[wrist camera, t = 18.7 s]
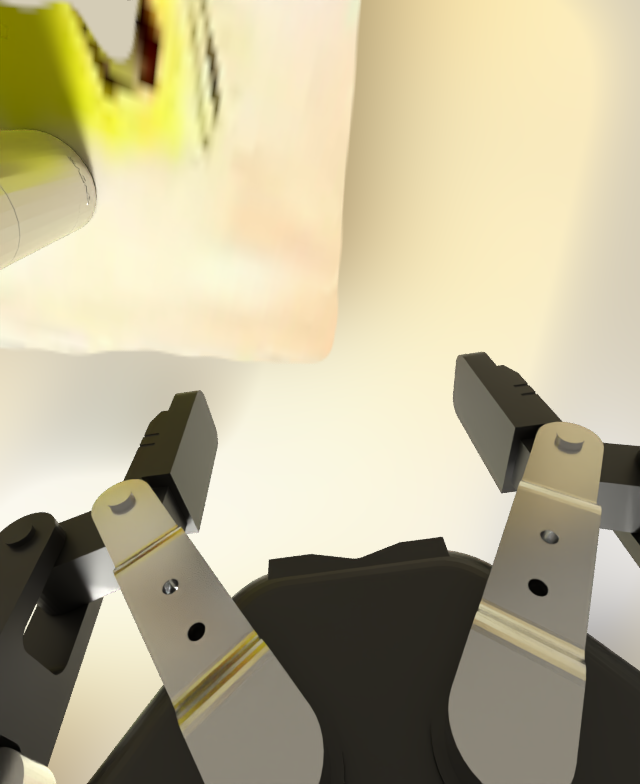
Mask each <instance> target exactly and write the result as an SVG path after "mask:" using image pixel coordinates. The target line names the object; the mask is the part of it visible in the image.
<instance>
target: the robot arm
mask: <svg viewBox="0 0 640 784" xmlns="http://www.w3.org/2000/svg"><path fill="white" fill-rule="evenodd" d="M95 206H96V191H95V186H94V183H93V179H92V177H91V175H90V173H89V171H88V169H87V167H86V165H85V164H84V163H83V161H82V160H81V158H80V157H79V156H78V155H77V154H76V153H75V152H74V151H73V150H72V149H71V148H70V147H69V146H68V145H66V144H65V143H64V142H62V141H61V140H60V139H58V138H56V137H54V136H52V135H50V134H48V133H45V132H41V131H38V130H28V129H22V130H0V270H1V269H3V268H5V267H7V266H9V265H11V264H12V263H14V262H16V261H18V260H20V259H22V258H24V257H26V256H28V255H30V254H32V253H34V252H36V251H38V250H40V249H41V248H43V247H45V246H47V245H49V244H51V243H53V242H55V241H57V240H59V239H61V238H63V237H65V236H67V235H69V234H71V233H73V232H75V231H77V230H79V229H80V228H82V227H83V226H84V225H86V224H87V223H88V222H89V220H90V219H91V218H92V216H93V213H94V210H95ZM453 402H454V408H455V412H456V414H457V416H458V418H459V420H460V422H461V423H462V425H463V427H464V428H465V430H466V432H467V434H468V435H469V437H470V439H471V441H472V443H473V444H474V446H475V448H476V450H477V451H478V453H479V455H480V457H481V458H482V460H483V462H484V464H485V465H486V467H487V469H488V471H489V472H490V474H491V476H492V478H493V479H494V481H495V483H496V485H497V486H498V488H499V490H500V492H501V493H507V492H515V491H517V492H516V495H515V498H514V501H513V504H512V507H511V511H510V513H509V517H508V520H507V523H506V526H505V529H504V532H503V535H502V538H501V541H500V544H499V547H498V550H497V554H496V557H495V560H494V563H493V566H492V565H491V564H489V563H487V562H485V561H483V560H480V559H478V558H476V557H473V556H470V555H467V554H463V553H459V552H455V551H448V550H447V548H446V545H445V542H444V539H443V537H438V538H430V539H423V540H415V541H407V542H400V543H397V544H395V545H392V546H389V547H387V548H384V549H382V550H379V551H377V552H374V553H372V554H369V555H367V556H364V557H361V558H357V559H351V558H342V557H333V556H324V555H314V554H308V555H301V556H293V557H286V558H278V559H271V560H269V568H268V574H267V575H264V576H262V577H261V578H258V579H256V580H255V581H253V582H251V583H250V584H248V585H247V586H245V587H244V588H242V589H241V590H240V591H239V592H238V593H236V594H235V595H234V596H233V597H232V598H231V597H230V595H229V594H228V593H227V591H226V590H225V588H224V587H223V585H222V584H221V583H220V581H219V580H218V578H217V577H216V576H215V574H214V573H213V571H212V570H211V568H210V567H209V566H208V564H207V563H206V561H205V560H204V558H203V557H202V556H201V554H200V553H199V551H198V550H197V549H196V547H195V546H194V544H193V543H192V541H191V540H190V539H189V537H188V536H187V534H190V533H198V532H199V529H200V524H201V520H202V515H203V511H204V506H205V501H206V497H207V492H208V487H209V483H210V478H211V474H212V469H213V465H214V460H215V455H216V451H217V445H218V438H217V431H216V427H215V425H214V422H213V419H212V416H211V413H210V411H209V408H208V405H207V402H206V399H205V397H204V394H203V393H202V392H201V391H200V390H199V391H192V392H184V393H178V394H175V396H174V399H173V401H172V403H171V406H170V408H169V410H168V411H162V412H161V413H159V414H158V415H157V416H156V417H155V418H154V419H153V420H152V421H151V422H150V424H149V426H148V428H147V430H146V433H145V437H143V439H142V441H141V444H140V447H139V448H138V450H137V452H136V455H135V457H134V459H133V461H132V463H131V466H130V468H129V470H128V472H127V474H126V476H125V479H124V481H122V482H120V483H117V484H116V485H113V486H112V487H110V488H108V489H107V490H106V491H105V492H103V493H102V494H101V495H100V496H99V497H98V499H97V500H96V501H95V503H94V505H93V507H92V511H89V512H87V513H84V514H82V515H79V516H77V517H74V518H71V519H69V520H66V521H63V522H61V523H58V522H57V521H56V519H55V518H54V517H53V516H52V515H51V514H49V513H45V512H39V513H34V514H30V515H27V516H24V517H22V518H20V519H18V520H16V521H15V522H13V523H12V524H10V525H9V526H8V527H6V528H5V529H3V530H2V531H1V532H0V784H56V780H55V777H54V775H53V773H52V771H51V770H50V769H48V768H47V767H48V764H49V761H50V757H51V755H52V751H53V748H54V745H55V742H56V739H57V736H58V733H59V730H60V727H61V724H62V721H63V718H64V715H65V712H66V709H67V706H68V703H69V700H70V697H71V694H72V691H73V688H74V685H75V681H76V679H77V676H78V673H79V670H80V666H81V664H82V661H83V658H84V655H85V652H86V649H87V645H88V643H89V639H90V636H91V633H92V630H93V627H94V624H95V621H96V618H97V615H98V612H99V609H100V606H101V603H102V600H103V597H104V596H105V595H108V594H110V593H112V592H114V591H117V590H119V589H121V591H122V594H123V595H124V598H125V600H126V602H127V605H128V607H129V609H130V611H131V613H132V615H133V618H134V620H135V622H136V624H137V626H138V629H139V631H140V633H141V635H142V638H143V640H144V642H145V644H146V646H147V649H148V651H149V653H150V655H151V657H152V660H153V662H154V664H155V666H156V668H157V670H158V673H159V675H160V677H161V679H162V681H163V684H164V685H163V686H162V687H161V689H160V690H159V691H158V692H157V694H156V695H155V696H154V698H153V699H152V700H151V702H150V703H149V704H148V706H147V707H146V708H145V709H144V711H143V712H142V713H141V714H140V716H139V717H138V718H137V720H136V721H135V722H134V724H133V725H132V726H131V727H130V729H129V730H128V732H127V733H126V734H125V735H124V737H123V738H122V739H121V740H120V742H119V743H118V744H117V746H116V747H115V748H114V750H113V751H112V752H111V753H110V755H109V756H108V758H107V759H106V760H105V761H104V763H103V764H102V765H101V766H100V768H99V769H98V770H97V772H96V773H95V774H94V776H93V777H92V778H91V779H90V781H89V782H88V783H87V784H640V671H639V670H638V669H636V668H635V667H633V666H632V665H631V664H629V663H628V662H627V661H625V660H624V659H622V658H621V657H620V656H618V655H617V654H615V653H614V652H613V651H611V650H610V649H609V648H607V647H606V646H604V645H603V644H602V643H600V642H599V641H597V640H596V639H594V638H593V637H592V636H591V635H589V634H588V633H587V627H588V619H589V611H590V602H591V594H592V586H593V578H594V569H595V561H596V552H597V545H598V536H599V528H602V529H609V530H613V531H614V533H615V534H616V535H617V537H618V538H619V540H620V541H621V542H622V544H623V545H624V547H625V548H626V549H627V551H628V552H629V554H630V555H631V556H632V558H633V559H634V561H635V562H636V563H637V565H638V566H639V568H640V446H631V445H621V444H620V445H619V444H609V443H603V442H602V441H601V439H600V438H599V437H598V436H597V435H596V434H595V433H593V432H592V431H590V430H589V429H587V428H585V427H582V426H580V425H577V424H573V423H568V422H562V421H561V420H560V418H558V417H557V415H556V414H555V413H554V412H553V411H552V410H551V409H550V407H549V406H548V405H547V404H546V403H545V402H544V401H543V400H542V399H541V398H540V397H539V395H538V394H535V391H534V390H533V389H532V388H531V387H530V386H528V385H527V382H526V381H525V380H524V379H523V378H522V377H521V376H520V375H519V373H517V372H515V371H513V370H512V369H509V368H508V367H506V366H504V365H501V366H496V364H495V363H494V362H493V361H492V360H491V359H490V357H489V356H488V355H487V354H486V353H485V352H478V353H471V354H464V355H459V356H458V357H457V360H456V369H455V381H454V391H453ZM36 604H37V607H36V610H35V612H34V614H33V616H32V618H31V620H30V622H29V625H28V627H27V629H26V631H25V633H24V630H25V627H26V625H27V622H28V620H29V618H30V616H31V614H32V612H33V609H34V607H35V605H36ZM23 634H24V635H23Z"/></svg>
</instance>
